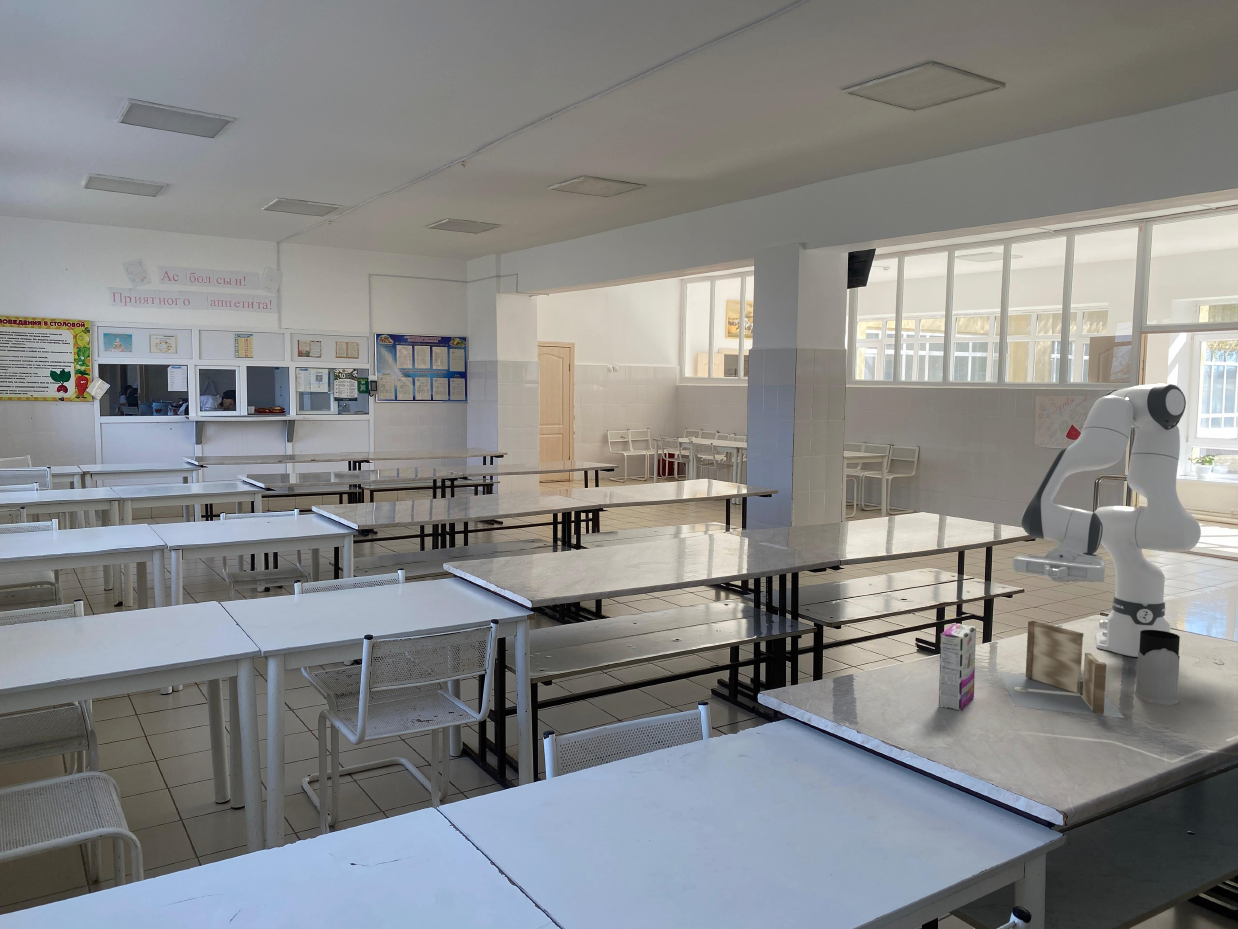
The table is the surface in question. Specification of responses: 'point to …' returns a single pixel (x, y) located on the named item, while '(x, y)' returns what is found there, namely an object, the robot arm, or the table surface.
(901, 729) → the table surface
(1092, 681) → the bar
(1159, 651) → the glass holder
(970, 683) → the candy bar box
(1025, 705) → the card
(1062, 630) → the brown wooden panel
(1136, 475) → the robot arm
